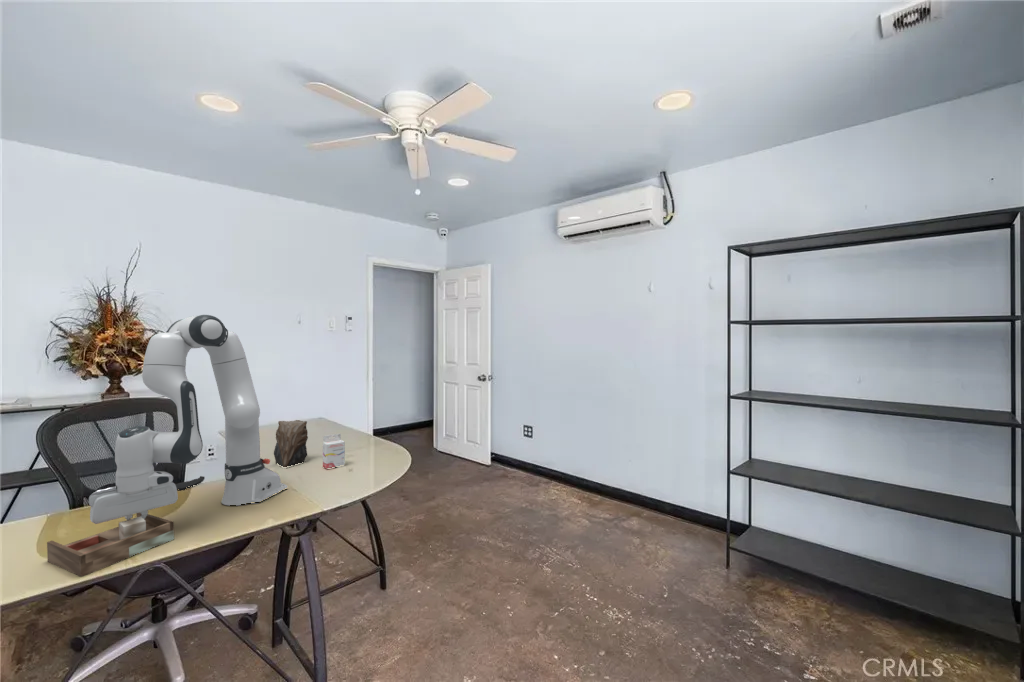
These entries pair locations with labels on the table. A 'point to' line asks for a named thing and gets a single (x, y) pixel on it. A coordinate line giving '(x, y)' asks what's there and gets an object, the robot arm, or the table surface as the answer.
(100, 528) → the table surface
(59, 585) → the table surface
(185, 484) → the fan shaped piece
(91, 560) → the box
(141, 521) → the gray block
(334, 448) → the ink cartridge box
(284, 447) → the owl
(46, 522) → the table surface
